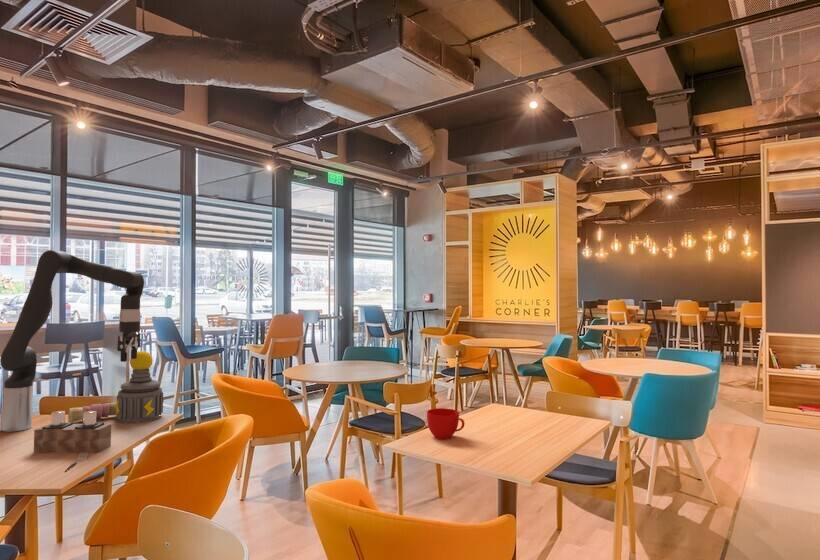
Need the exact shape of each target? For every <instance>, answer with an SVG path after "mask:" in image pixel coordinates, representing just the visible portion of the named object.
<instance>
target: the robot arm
mask: <svg viewBox="0 0 820 560" xmlns="http://www.w3.org/2000/svg"><path fill="white" fill-rule="evenodd" d="M57 274H74V275H82V276H85V277H87V278H89V279H91V280H94V281H97V282H102V283H106V284H110V285H113V286H116V287H119V288H122V289H126V291H125V294H123V295H122V296H121V298H120V311H119V319H118V322H119V324H118V332H119V333H122V335H118V336H117V346H116V347H117V348H116V349H117V352H119V353H120V362H127V361H128V351H129V349H130V359H136V358H137V352H138V350H139V348H141V333H139V332H140V331H141V298H142V294H143V290H144V286H145V279H144V276H143V274H141V272H139V271H129V270H124V269H119V268H117V267H115V266H112V265H108V264H103V263H98V262H94V261H89V260H85V259H82V258H80V257H78V256H75V255H74V254H73V255H72V254H71V253H68V252H66V251H63V250H55V249H54V250H53V249H48V250H45V251H44V252H43V253H41V254H40V257H39V259H38V262H37V265H36V269H35V273H34V277H33V280H32V282H31V286H30V289H29V291H28V295H27V296H26V299H25V301H24V304H23V306H22V309H21V311H20V313H19V317H18V320H17V321H16V325H15V326H14V329H13V331H12V334H11V336H10V338H9V339H8V341H7V342H6V345H5V347H4V348H3V351H2V353H1V355H0V366H1V368H2V369H3V370H4V371H8V372H11V375H10V376H9V377H8V378H7V379H6V380H5V381H4V386H3V387H4V390H3V406H1V407H0V431H1V432H7V433H9V432H20V431H25V430H28V429H31V428H32V415H33V414H32V413H33V411H32V410H33V389H34V387H33V385H34V384H33V382H34V380H35V378H36V373H37V364H38V363H37V361H38V357H37V353H36V351H35V349H34V348H32V347H31V346H29V343H30V341H31V340H32V338H33V337H34V336H35V334H37V333H38V331H40V329H41V328H43V326H44V325H45V323H46V322H47V320H48V319H49V316H50V313H51V310H52V309H53V303H54V302H53V294H52V285H53V282H54V280H55V277H56V275H57Z"/></svg>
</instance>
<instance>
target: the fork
mask: <svg viewBox="0 0 820 560" xmlns="http://www.w3.org/2000/svg"><path fill="white" fill-rule="evenodd" d="M87 456H88V452H87V453H86V452H85V453H79V455H78V456H77V458H76V461H75V462H74V463H72V464H70V465H69V466H68V467H67V468H65V470H64V473H66V472H68V471H70V470H71V469H72V468H73V467H76V465H77V464H78V463H79V462H80V460H86V458H87ZM77 459H78V460H77ZM70 468H71V469H70ZM67 470H68V471H67Z"/></svg>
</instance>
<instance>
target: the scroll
mask: <svg viewBox="0 0 820 560" xmlns="http://www.w3.org/2000/svg"><path fill="white" fill-rule="evenodd" d="M116 403H117V401H114V402H110V403H109V402H107V403H103V404H101V403H94V404H93V403H92V404H90V405H85V406H84V405H83V406H82V407H69V409H68V416H67V421H68V422H67V423H75V422H80V421H83V413H84V412H88V411H96V412H97V416H96V420H98V421H101V420H102V418H109V416H111V417H112V416H116V406H115V405H116ZM100 419H101V420H100Z"/></svg>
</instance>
